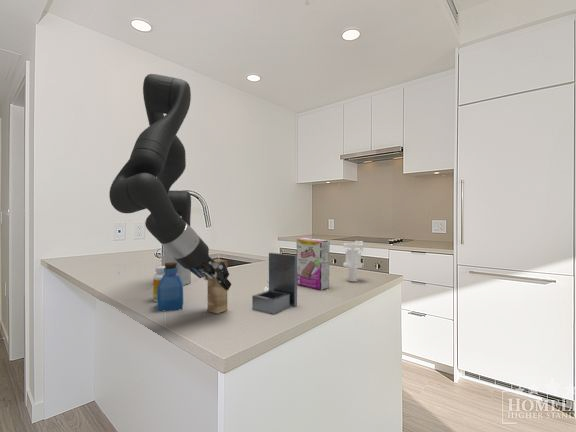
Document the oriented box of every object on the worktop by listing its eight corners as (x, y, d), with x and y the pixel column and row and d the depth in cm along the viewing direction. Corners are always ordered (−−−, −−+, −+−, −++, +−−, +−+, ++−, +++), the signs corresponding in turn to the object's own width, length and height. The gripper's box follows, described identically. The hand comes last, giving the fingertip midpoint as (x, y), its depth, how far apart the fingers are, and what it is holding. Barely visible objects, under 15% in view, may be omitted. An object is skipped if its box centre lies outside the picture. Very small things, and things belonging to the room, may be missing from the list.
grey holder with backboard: (249, 308, 85) (249, 256, 85) (271, 300, 93) (271, 252, 93) (276, 314, 80) (276, 259, 80) (297, 305, 88) (297, 255, 88)
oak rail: (207, 310, 83) (207, 260, 82) (217, 307, 86) (218, 259, 85) (217, 313, 81) (217, 262, 80) (227, 310, 84) (227, 260, 83)
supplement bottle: (165, 302, 90) (165, 268, 90) (149, 301, 92) (149, 268, 91) (176, 297, 96) (176, 265, 95) (160, 296, 97) (160, 264, 97)
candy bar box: (295, 285, 112) (295, 238, 111) (304, 282, 115) (305, 237, 115) (321, 290, 104) (321, 240, 103) (330, 288, 107) (330, 239, 107)
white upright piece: (362, 283, 114) (362, 242, 113) (342, 282, 115) (342, 241, 115) (362, 279, 121) (362, 240, 120) (343, 278, 122) (344, 239, 122)
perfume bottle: (157, 311, 83) (157, 265, 82) (160, 304, 89) (159, 262, 88) (182, 309, 84) (182, 264, 84) (183, 303, 90) (183, 261, 90)
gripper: (214, 234, 73) (249, 278, 83) (175, 231, 81) (212, 271, 91) (195, 260, 68) (235, 303, 79) (157, 255, 76) (197, 294, 87)
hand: (223, 286), depth 85 cm, fingers closed on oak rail, 3 cm apart
